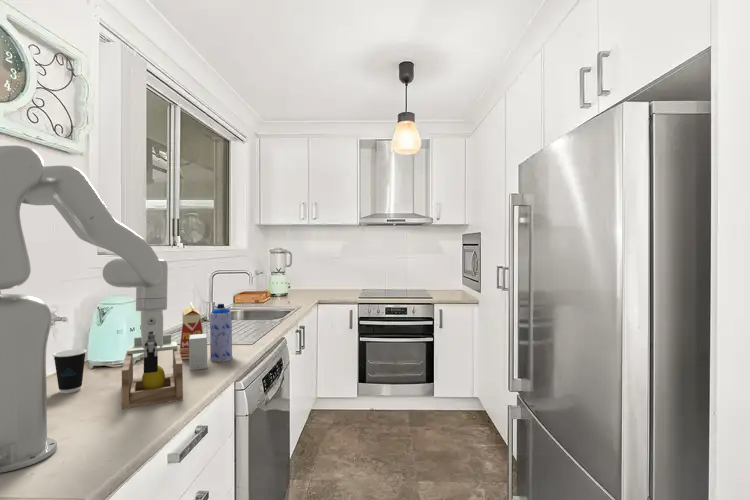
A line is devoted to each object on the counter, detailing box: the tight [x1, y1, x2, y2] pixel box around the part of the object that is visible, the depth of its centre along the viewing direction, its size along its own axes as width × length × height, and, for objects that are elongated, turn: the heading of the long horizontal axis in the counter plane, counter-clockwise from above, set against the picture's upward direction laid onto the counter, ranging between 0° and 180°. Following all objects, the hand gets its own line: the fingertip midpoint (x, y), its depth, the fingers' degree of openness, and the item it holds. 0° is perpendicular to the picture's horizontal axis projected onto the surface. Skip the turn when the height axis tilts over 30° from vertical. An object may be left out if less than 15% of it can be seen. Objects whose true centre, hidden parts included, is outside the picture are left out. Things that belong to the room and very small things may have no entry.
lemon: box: [141, 365, 165, 390], centre depth 116 cm, size 6×6×8 cm
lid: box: [127, 333, 178, 355], centre depth 129 cm, size 7×13×4 cm, turn 117°
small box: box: [188, 333, 208, 371], centre depth 146 cm, size 8×6×10 cm
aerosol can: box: [209, 303, 234, 362], centre depth 156 cm, size 8×8×20 cm
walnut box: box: [121, 344, 184, 410], centre depth 122 cm, size 24×14×10 cm, turn 27°
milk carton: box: [179, 301, 204, 360], centre depth 160 cm, size 9×9×20 cm
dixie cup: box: [52, 348, 88, 394], centre depth 122 cm, size 8×8×11 cm
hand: (150, 368), depth 115 cm, fingers open, 9 cm apart
